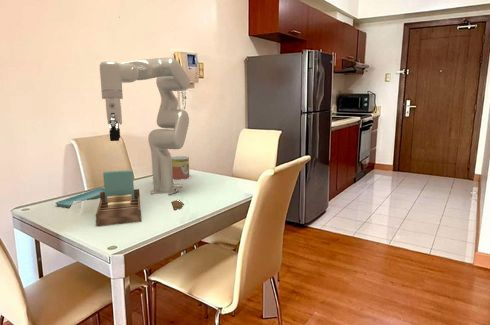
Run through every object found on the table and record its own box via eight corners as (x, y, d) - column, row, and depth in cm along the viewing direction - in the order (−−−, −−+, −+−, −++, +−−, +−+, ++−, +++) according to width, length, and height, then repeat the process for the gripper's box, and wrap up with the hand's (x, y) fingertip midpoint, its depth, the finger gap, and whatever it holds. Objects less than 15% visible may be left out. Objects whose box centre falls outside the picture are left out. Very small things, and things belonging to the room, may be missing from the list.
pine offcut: (131, 214, 135) (130, 200, 134) (131, 216, 133) (130, 202, 132) (109, 216, 133) (108, 202, 132) (109, 218, 131) (107, 204, 130)
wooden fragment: (165, 220, 134) (165, 217, 134) (140, 217, 137) (140, 215, 137) (192, 201, 159) (192, 199, 158) (170, 199, 161) (170, 197, 161)
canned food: (180, 180, 197) (179, 160, 195) (166, 178, 203) (165, 158, 201) (193, 177, 206) (192, 157, 204) (179, 174, 212) (178, 155, 210)
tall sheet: (135, 207, 144) (132, 170, 141) (135, 209, 142) (132, 171, 139) (106, 210, 141) (103, 171, 138) (106, 212, 138) (103, 173, 136)
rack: (140, 209, 146) (139, 188, 145) (141, 225, 128) (140, 201, 126) (101, 213, 142) (100, 192, 140) (97, 230, 123) (95, 206, 122)
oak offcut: (132, 211, 140) (131, 194, 138) (132, 212, 137) (131, 195, 136) (108, 213, 137) (107, 196, 136) (108, 215, 135) (106, 198, 133)
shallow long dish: (70, 209, 148) (69, 204, 148) (55, 207, 152) (54, 201, 151) (114, 194, 172) (114, 189, 172) (100, 192, 175) (99, 187, 175)
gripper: (121, 94, 126) (124, 141, 129) (123, 95, 142) (126, 137, 145) (99, 94, 124) (103, 142, 127) (103, 95, 140) (106, 137, 143)
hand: (115, 139), depth 136 cm, fingers open, 9 cm apart
